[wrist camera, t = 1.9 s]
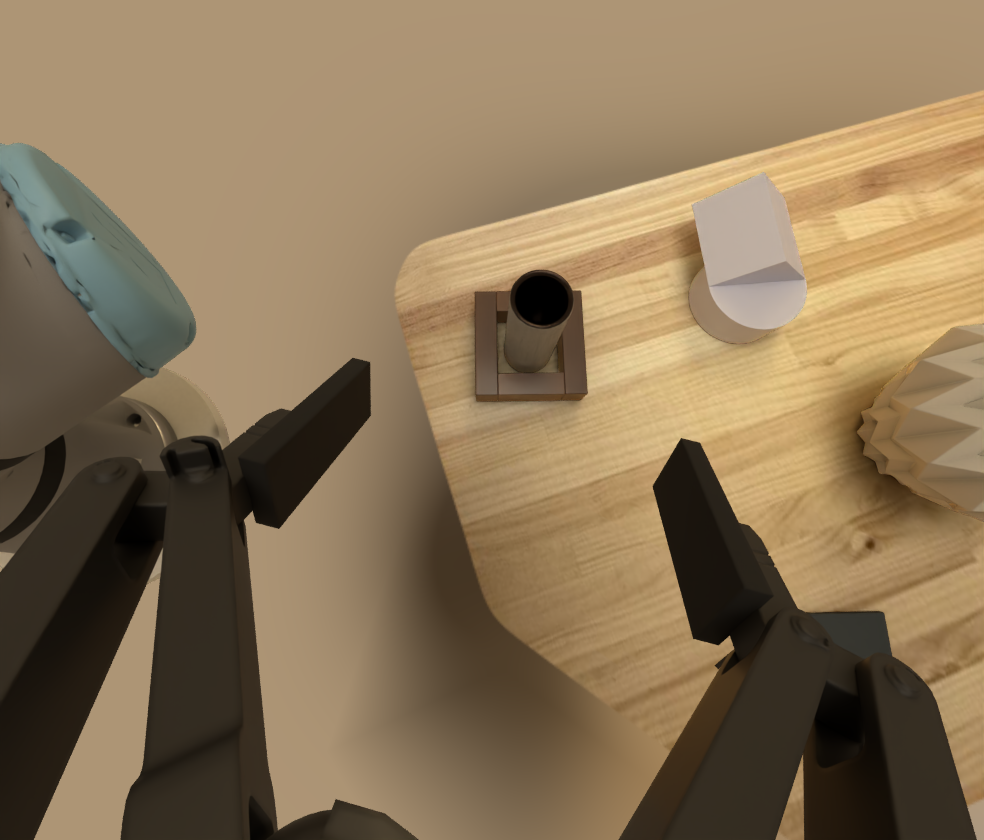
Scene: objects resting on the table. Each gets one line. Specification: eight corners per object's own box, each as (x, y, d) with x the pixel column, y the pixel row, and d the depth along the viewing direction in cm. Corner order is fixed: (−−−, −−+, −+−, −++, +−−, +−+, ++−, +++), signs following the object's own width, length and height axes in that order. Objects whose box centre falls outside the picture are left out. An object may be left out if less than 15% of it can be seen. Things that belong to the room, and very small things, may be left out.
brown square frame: (476, 401, 35) (475, 395, 33) (475, 304, 37) (474, 291, 35) (581, 400, 36) (587, 393, 33) (575, 303, 37) (581, 290, 35)
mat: (782, 745, 31) (786, 749, 30) (764, 613, 32) (768, 615, 32) (904, 742, 31) (909, 746, 30) (879, 611, 32) (884, 612, 32)
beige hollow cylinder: (498, 335, 37) (502, 276, 26) (543, 324, 37) (564, 262, 27) (510, 378, 36) (519, 335, 26) (556, 367, 36) (582, 320, 26)
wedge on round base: (674, 228, 39) (697, 347, 37) (712, 175, 32) (743, 315, 30) (759, 222, 39) (787, 339, 37) (814, 168, 33) (853, 307, 30)
